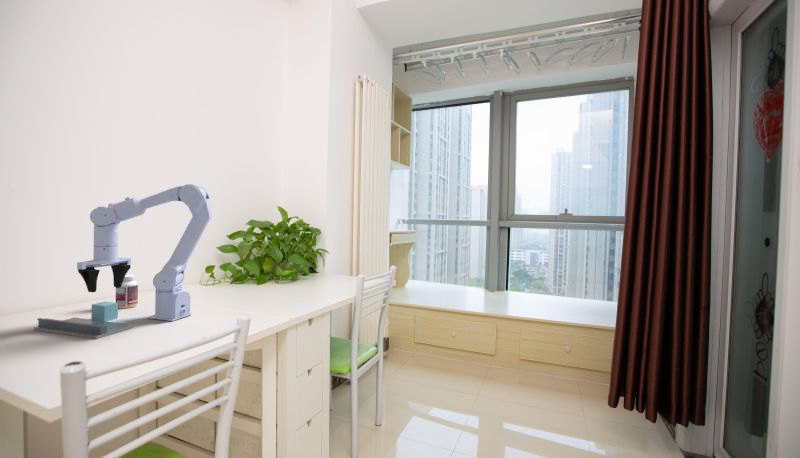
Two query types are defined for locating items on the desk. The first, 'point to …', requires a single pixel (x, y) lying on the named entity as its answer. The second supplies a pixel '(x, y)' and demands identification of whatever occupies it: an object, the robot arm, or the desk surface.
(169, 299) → the robot arm
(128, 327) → the rail board
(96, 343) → the desk surface
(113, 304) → the block
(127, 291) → the pill bottle
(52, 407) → the desk surface
